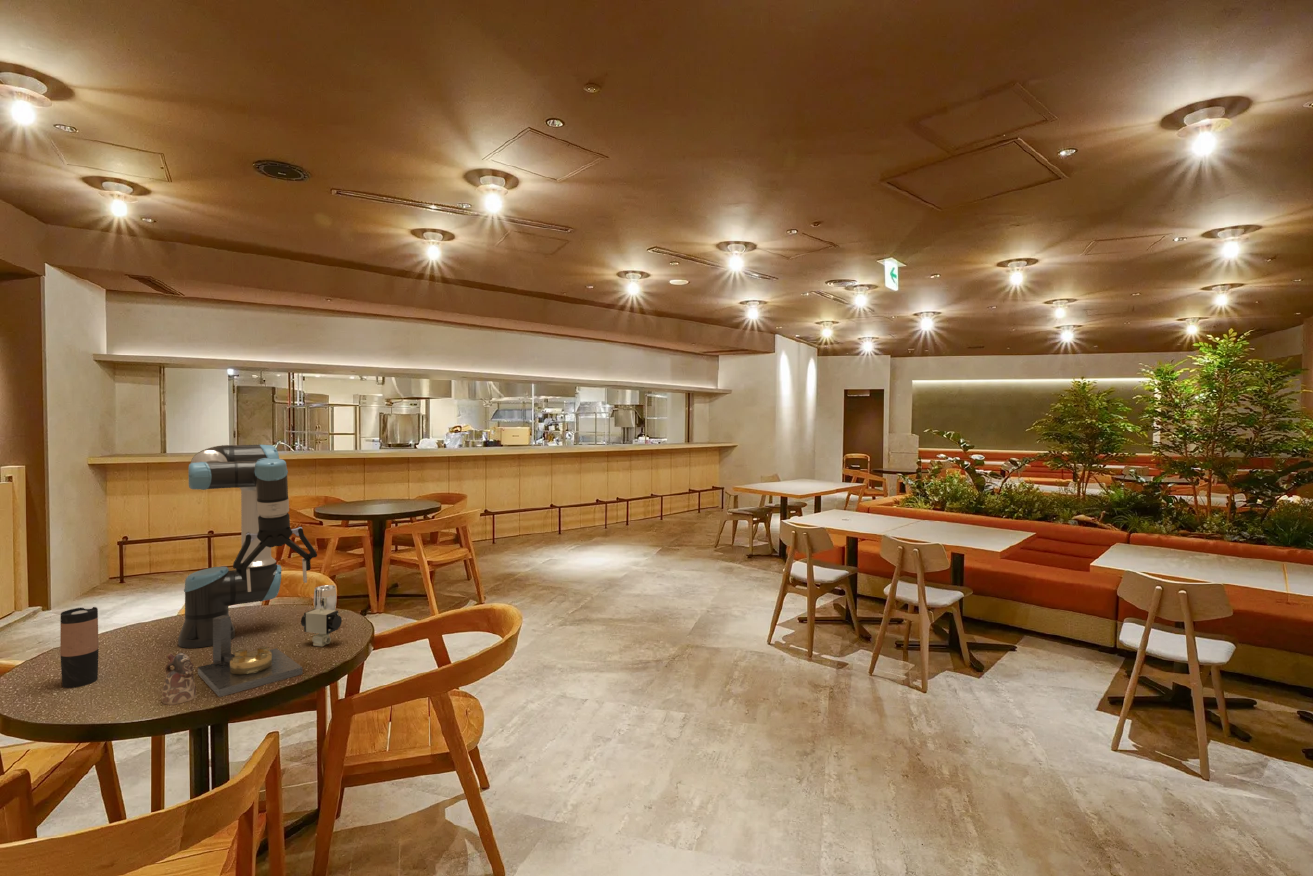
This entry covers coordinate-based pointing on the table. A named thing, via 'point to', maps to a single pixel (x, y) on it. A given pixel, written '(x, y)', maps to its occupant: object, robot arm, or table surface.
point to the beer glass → (325, 597)
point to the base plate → (230, 683)
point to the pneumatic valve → (321, 624)
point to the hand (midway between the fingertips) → (277, 585)
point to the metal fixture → (242, 659)
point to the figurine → (179, 680)
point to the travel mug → (79, 647)
